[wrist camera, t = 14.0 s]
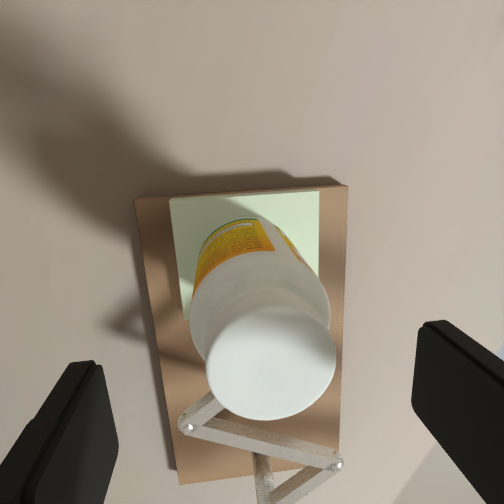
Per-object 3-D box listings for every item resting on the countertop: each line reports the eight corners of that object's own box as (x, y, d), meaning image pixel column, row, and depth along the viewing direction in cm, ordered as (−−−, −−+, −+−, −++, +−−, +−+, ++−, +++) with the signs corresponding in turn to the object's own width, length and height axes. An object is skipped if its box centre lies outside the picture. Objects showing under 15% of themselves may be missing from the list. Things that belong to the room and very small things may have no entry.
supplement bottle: (307, 235, 19) (393, 319, 10) (269, 315, 20) (315, 455, 11) (217, 199, 18) (222, 258, 9) (183, 287, 19) (157, 417, 10)
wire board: (333, 451, 27) (338, 463, 26) (180, 472, 26) (179, 484, 25) (342, 184, 20) (348, 186, 20) (137, 197, 20) (133, 200, 19)
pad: (313, 299, 22) (318, 307, 21) (185, 312, 21) (184, 320, 20) (314, 188, 19) (319, 190, 18) (171, 198, 19) (168, 201, 18)
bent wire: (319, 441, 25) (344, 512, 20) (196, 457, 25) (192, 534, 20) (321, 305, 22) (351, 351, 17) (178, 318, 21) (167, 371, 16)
